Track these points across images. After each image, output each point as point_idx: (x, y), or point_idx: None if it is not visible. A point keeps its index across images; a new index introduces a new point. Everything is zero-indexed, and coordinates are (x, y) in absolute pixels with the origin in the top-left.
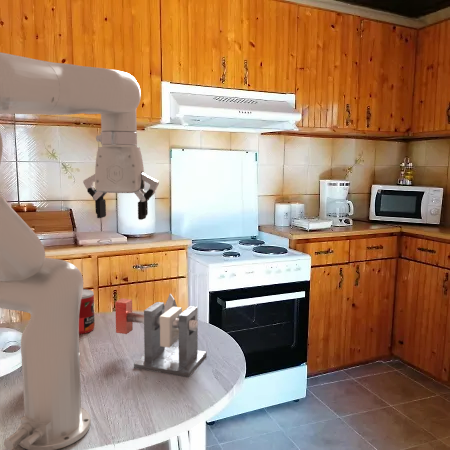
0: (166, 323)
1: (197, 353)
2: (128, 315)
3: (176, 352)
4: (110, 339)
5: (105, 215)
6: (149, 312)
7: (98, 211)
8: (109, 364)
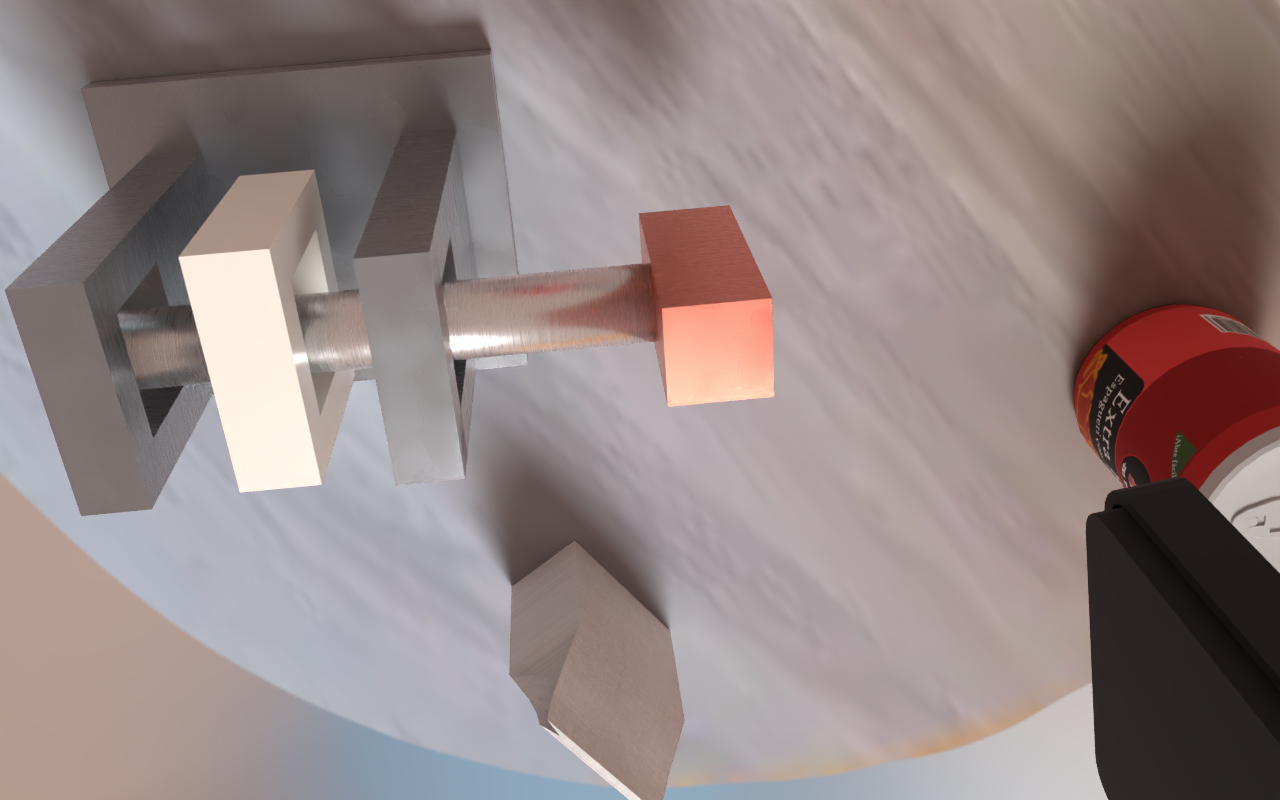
0: (219, 234)
1: None
2: (641, 282)
3: None
4: (881, 335)
5: (1107, 773)
6: (375, 254)
7: (1223, 588)
8: (670, 23)
